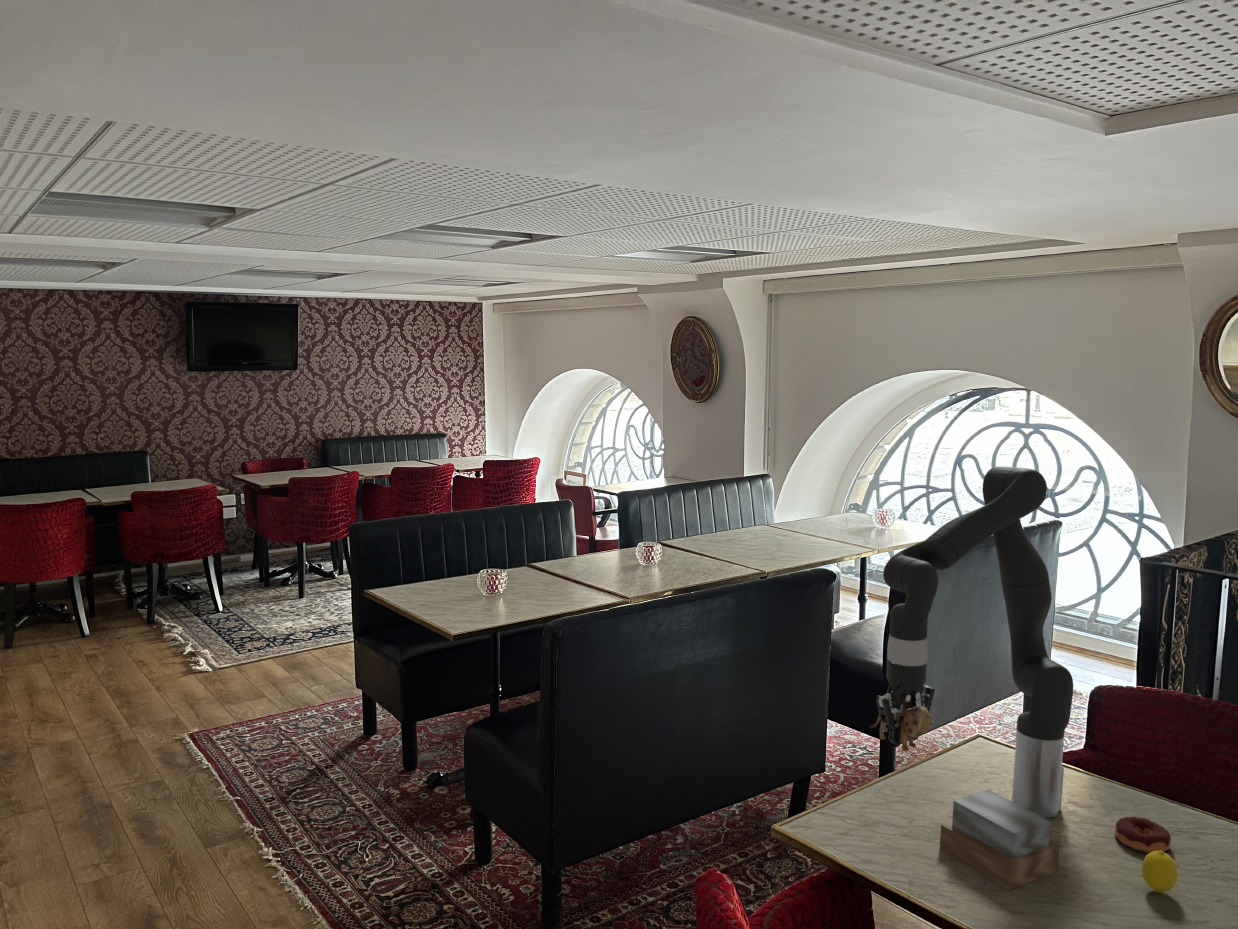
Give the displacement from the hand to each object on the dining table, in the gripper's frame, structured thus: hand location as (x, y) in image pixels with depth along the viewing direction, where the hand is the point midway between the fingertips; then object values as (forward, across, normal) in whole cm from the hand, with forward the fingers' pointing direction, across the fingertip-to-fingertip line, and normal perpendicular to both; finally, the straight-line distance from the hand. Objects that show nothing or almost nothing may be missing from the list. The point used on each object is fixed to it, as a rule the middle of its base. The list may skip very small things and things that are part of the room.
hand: (903, 740), depth 180 cm
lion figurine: (+1, 0, -1) cm, 2 cm away
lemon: (+21, -29, +35) cm, 50 cm away
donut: (+22, -43, +23) cm, 53 cm away
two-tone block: (+21, -12, +14) cm, 28 cm away
